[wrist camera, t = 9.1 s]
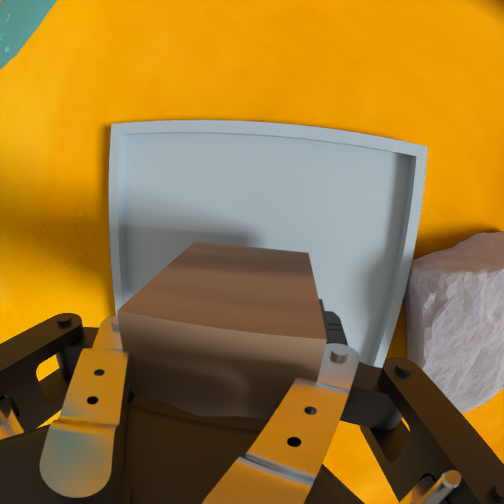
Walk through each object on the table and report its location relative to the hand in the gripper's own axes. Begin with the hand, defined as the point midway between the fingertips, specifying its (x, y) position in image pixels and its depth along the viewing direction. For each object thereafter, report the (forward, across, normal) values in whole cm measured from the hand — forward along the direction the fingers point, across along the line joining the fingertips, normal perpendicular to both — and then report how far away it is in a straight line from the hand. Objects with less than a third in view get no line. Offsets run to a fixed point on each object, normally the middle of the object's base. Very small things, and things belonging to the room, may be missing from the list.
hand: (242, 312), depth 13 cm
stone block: (+5, -14, +2) cm, 15 cm away
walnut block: (+1, 0, 0) cm, 1 cm away
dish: (+4, 0, 0) cm, 4 cm away
